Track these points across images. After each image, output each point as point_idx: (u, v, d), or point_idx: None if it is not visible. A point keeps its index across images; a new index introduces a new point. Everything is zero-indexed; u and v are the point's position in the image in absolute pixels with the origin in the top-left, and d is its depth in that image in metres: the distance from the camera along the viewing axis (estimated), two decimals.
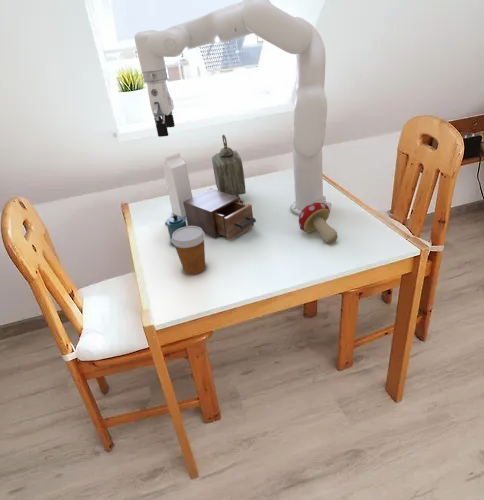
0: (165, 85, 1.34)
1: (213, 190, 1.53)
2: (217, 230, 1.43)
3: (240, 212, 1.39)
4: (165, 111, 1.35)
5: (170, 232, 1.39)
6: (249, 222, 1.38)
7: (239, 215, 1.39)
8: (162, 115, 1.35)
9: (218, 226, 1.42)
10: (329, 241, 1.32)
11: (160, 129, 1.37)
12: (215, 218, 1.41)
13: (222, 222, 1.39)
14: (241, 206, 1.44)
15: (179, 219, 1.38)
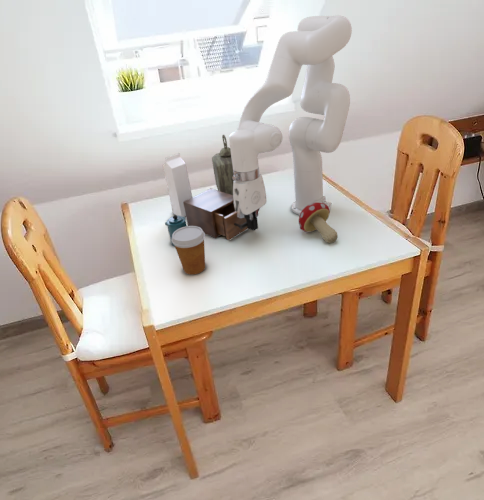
0: (252, 185, 1.27)
1: (213, 190, 1.53)
2: (216, 230, 1.43)
3: None
4: (244, 211, 1.29)
5: (170, 232, 1.39)
6: None
7: None
8: (248, 214, 1.33)
9: (217, 226, 1.42)
10: (329, 241, 1.32)
11: (248, 223, 1.36)
12: (214, 218, 1.41)
13: (221, 222, 1.39)
14: None
15: (179, 219, 1.38)
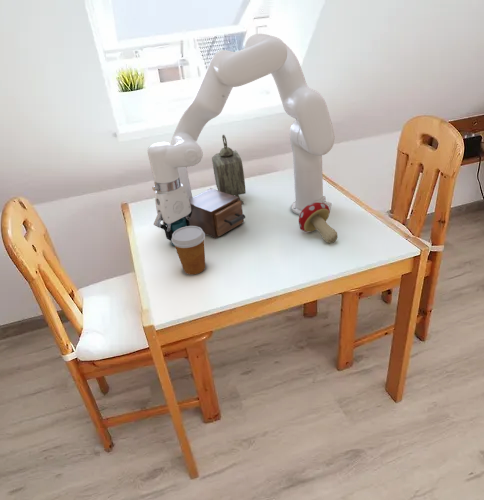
0: (173, 195, 1.32)
1: (213, 190, 1.53)
2: None
3: (230, 208, 1.42)
4: (165, 220, 1.34)
5: None
6: (238, 218, 1.41)
7: (228, 212, 1.42)
8: (167, 223, 1.36)
9: None
10: (329, 241, 1.32)
11: (166, 234, 1.39)
12: None
13: None
14: None
15: (179, 219, 1.38)
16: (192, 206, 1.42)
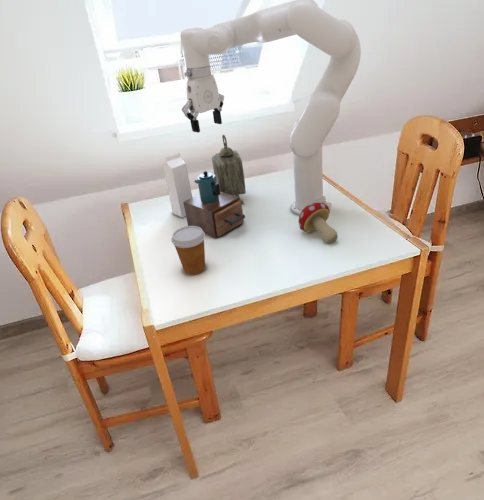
0: (204, 83, 1.36)
1: None
2: None
3: (230, 208, 1.42)
4: (196, 109, 1.37)
5: (200, 188, 1.42)
6: (238, 218, 1.41)
7: (228, 212, 1.42)
8: (195, 112, 1.38)
9: None
10: (329, 241, 1.32)
11: (192, 125, 1.41)
12: None
13: None
14: None
15: (209, 175, 1.42)
16: (222, 97, 1.45)
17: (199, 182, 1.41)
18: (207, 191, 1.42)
